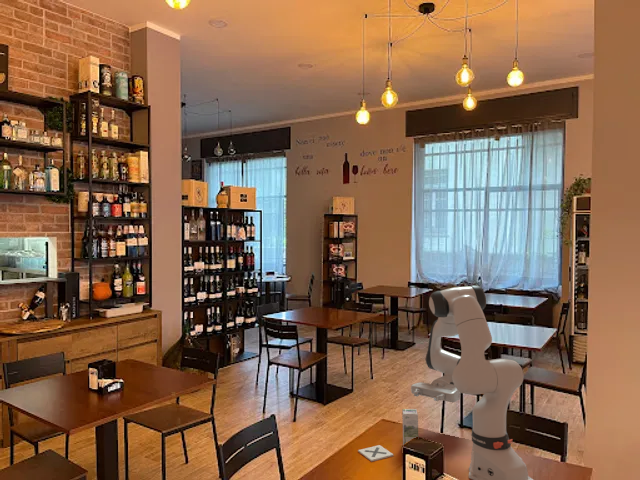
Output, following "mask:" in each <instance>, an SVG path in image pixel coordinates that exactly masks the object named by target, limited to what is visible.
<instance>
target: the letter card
mask: <svg viewBox="0 0 640 480" xmlns="http://www.w3.org/2000/svg"><path fill="white" fill-rule="evenodd" d="M357 452H358V453H359V454H360V455H362V456H364V457H365V458H366V459H367V460H369V461H370V462H371V463H372V462H376V461H379V460H383V459H388V458H392V457H394V456H395V455H394V453H392V452H390V451H389V450H388V449H387V448H386V447H385V448H384V447H383V446H382V445H380V444H378V445H374V446H371V447H366V448H362V449H358V450H357Z"/></svg>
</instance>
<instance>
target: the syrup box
mask: <svg viewBox="0 0 640 480" xmlns="http://www.w3.org/2000/svg"><path fill="white" fill-rule="evenodd" d="M416 437H418V438H419V414H418V411H417V408H402V445H404V444H405V443H406V442H408V441H410V440H411V439H413V438H416Z"/></svg>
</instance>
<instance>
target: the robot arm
mask: <svg viewBox="0 0 640 480" xmlns="http://www.w3.org/2000/svg"><path fill="white" fill-rule="evenodd" d="M428 298H429V300H428V305H429V309H430V311H431V313H432V315H433V316H435V317H437V319H436V320H434V321H433V323H432V325H431V328H430V332H429V333H430V334H429V337H428V338H429V340H428V346H427V350H426V354H425V363H426V365H427V367H428V369H430V370H434V371H436V372H437V371H438V372H440V373H443V375H442V376H439V377H438V378H435V379H433V380H432V381H431V383H428V382H424V381H423V382H422V381H421V382H416V383H413V384H411V386H410V391H411V394H412V395H413V397H419V396H422V397H426V398H431V399H433V401H435V402H439V401H444V402H449V403H455V402H458V401H460V399H461V394H465V395H472V396H473V395H481V394H483V395H482V397H481V399H479V401H477V402H476V403H475V404H474V406H472V412H471V413H472V428H471V434H470V435H471V441H472V446H471V447H472V449H471V456H470V457H471V458H470V464H469V467H468V471H469V472H468V478H469V479H471V480H534V479H533V478H532V477H531V476H529V472H528V467H527V464H526V463H525V462H524V459H523V457H520V456H519V454H518V453H517V452H516V451H515V449H514V448H513V447H512V446H511V443H513V438H511V439H510V438H509V435H508V432H507V410H508V407H509V404H510V400H511V398H512V397H513V395H514V393H515V392H516V390H517V389H518V388H519V387H520V386H521V385H522V384H523V382H524V371H523V368H522V367H521V365H520V363H518V362H517V361H516V360H514V359H507V358H496V359H486V356H485V351H486V350H487V349H489V347H490V346H491V345H492V341H493V336H492V334H491V331H490V327H489V326H488V322H487V320H486V317H485V313H484V311H483V310H484V309H485V308H486V306H487V296H486V294H485V292H484V290H483V288H482V287H481V286H479V285H470V286H457V287H451V288H450V287H449V288H446V289H442V290H437V291H434V292H432V293H430V296H429V297H428ZM457 335H458V338H459V343H460V347H461V348H460V349H461V351H460V353H461V354H460V355H458V354H456V353H452V352H450V351H447V350H444V349H443V348H441V341H442V337H448V338H450V337H455V336H457Z"/></svg>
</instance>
